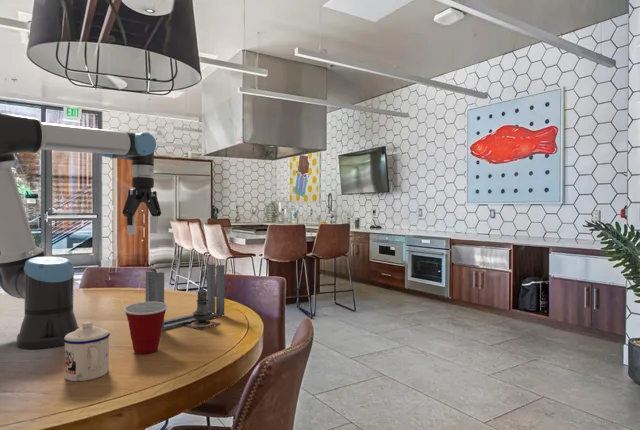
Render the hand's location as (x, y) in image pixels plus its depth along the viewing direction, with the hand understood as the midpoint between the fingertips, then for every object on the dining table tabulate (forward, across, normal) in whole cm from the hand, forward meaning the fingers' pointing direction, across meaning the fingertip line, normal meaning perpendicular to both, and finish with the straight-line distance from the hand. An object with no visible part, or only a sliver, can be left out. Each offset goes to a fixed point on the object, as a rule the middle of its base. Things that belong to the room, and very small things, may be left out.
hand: (143, 233), depth 158 cm
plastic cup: (+29, -42, -30) cm, 59 cm away
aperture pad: (+29, -15, -32) cm, 46 cm away
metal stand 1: (+29, -11, -23) cm, 38 cm away
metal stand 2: (+29, -13, -27) cm, 42 cm away
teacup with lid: (+29, -60, -28) cm, 72 cm away
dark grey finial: (+28, -15, -32) cm, 45 cm away
